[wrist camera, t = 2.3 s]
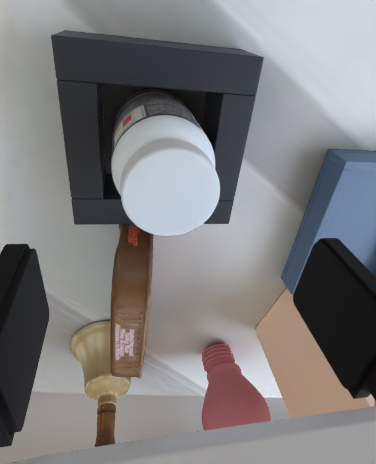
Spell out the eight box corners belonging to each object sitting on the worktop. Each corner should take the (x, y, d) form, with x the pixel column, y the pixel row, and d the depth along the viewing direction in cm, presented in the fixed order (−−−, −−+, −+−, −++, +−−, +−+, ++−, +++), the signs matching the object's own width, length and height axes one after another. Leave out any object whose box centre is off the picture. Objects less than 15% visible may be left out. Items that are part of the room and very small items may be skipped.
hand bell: (157, 349, 38) (174, 525, 25) (95, 372, 38) (80, 555, 25) (125, 309, 33) (125, 503, 20) (54, 336, 33) (11, 541, 20)
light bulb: (251, 349, 41) (290, 453, 31) (203, 370, 42) (227, 478, 32) (231, 321, 37) (269, 432, 27) (178, 345, 38) (197, 460, 28)
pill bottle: (96, 133, 22) (80, 205, 14) (149, 66, 20) (166, 105, 12) (158, 180, 25) (174, 262, 17) (209, 125, 23) (254, 188, 15)
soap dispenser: (291, 280, 34) (467, 568, 17) (348, 292, 37) (549, 548, 20) (238, 349, 40) (325, 613, 23) (290, 355, 43) (403, 592, 26)
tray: (328, 148, 26) (346, 161, 23) (442, 154, 28) (468, 165, 26) (280, 277, 34) (290, 295, 32) (372, 273, 36) (387, 290, 34)
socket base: (63, 30, 18) (50, 34, 15) (242, 49, 20) (264, 57, 17) (81, 196, 24) (74, 224, 21) (216, 197, 27) (228, 223, 23)
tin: (142, 320, 34) (146, 397, 27) (112, 321, 33) (109, 401, 27) (153, 200, 26) (163, 269, 19) (114, 198, 25) (110, 269, 18)
